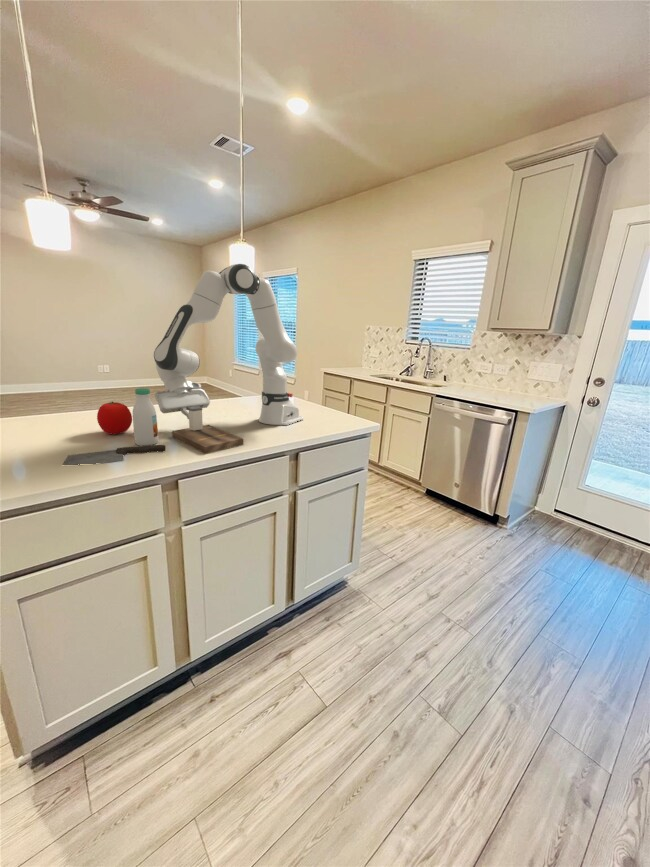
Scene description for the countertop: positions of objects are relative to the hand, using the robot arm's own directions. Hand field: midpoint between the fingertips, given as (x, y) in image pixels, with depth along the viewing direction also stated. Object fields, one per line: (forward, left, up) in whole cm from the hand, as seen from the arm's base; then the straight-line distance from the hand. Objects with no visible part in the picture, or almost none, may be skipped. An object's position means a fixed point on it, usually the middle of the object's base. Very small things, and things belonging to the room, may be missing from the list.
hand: (192, 418), depth 141 cm
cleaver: (+31, +7, -7) cm, 32 cm away
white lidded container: (0, +3, -4) cm, 5 cm away
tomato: (+22, -18, -7) cm, 29 cm away
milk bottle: (+18, 0, -7) cm, 19 cm away
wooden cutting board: (0, +11, -7) cm, 13 cm away
